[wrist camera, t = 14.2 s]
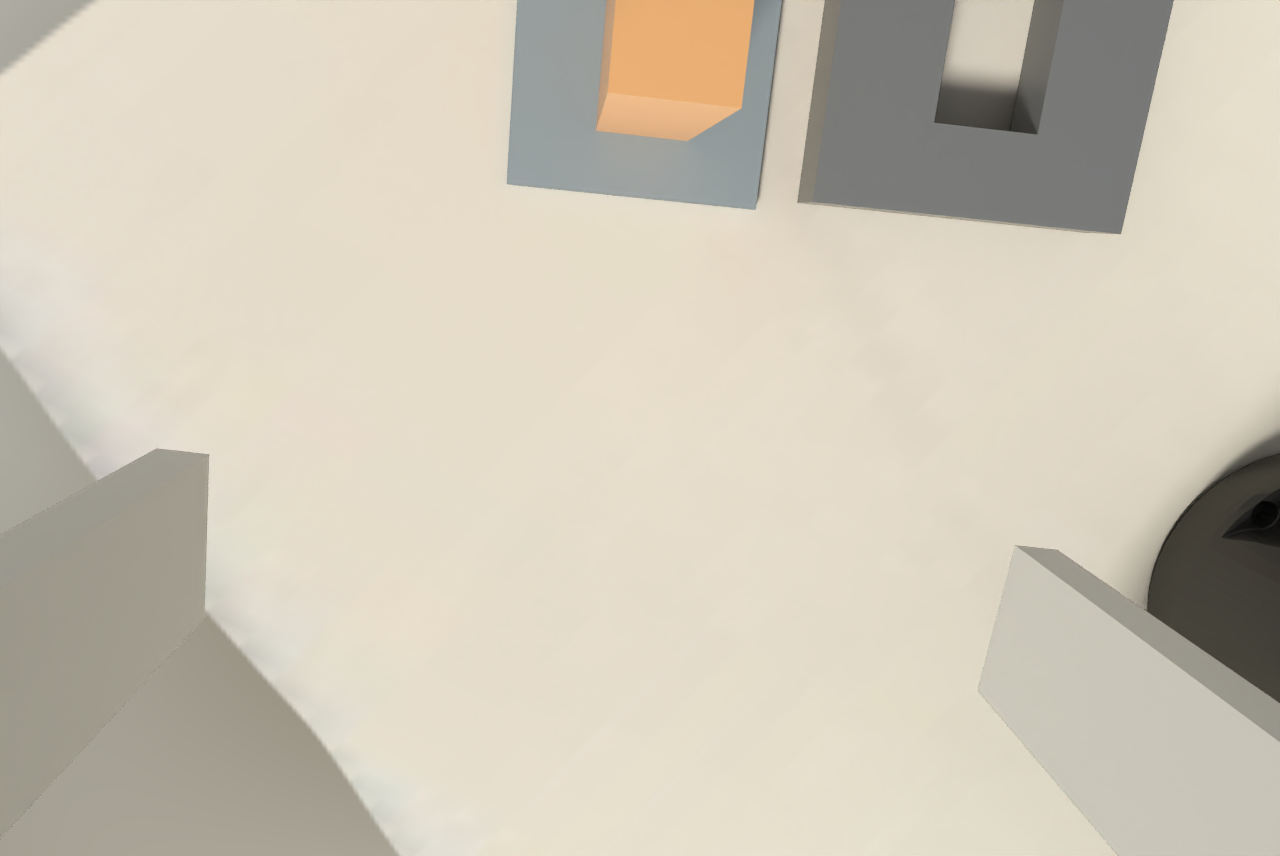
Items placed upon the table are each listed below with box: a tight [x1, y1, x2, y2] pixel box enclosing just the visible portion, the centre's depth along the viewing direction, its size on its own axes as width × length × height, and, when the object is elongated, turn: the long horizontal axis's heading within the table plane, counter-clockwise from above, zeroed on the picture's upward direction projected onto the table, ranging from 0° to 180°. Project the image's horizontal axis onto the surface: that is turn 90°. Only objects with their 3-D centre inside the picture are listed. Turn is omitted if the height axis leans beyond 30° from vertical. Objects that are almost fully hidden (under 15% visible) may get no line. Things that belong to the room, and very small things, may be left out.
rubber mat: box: [507, 0, 782, 210], centre depth 36 cm, size 11×11×1 cm
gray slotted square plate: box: [797, 0, 1174, 234], centre depth 36 cm, size 14×14×2 cm
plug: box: [596, 0, 755, 141], centre depth 30 cm, size 4×6×12 cm, turn 174°
